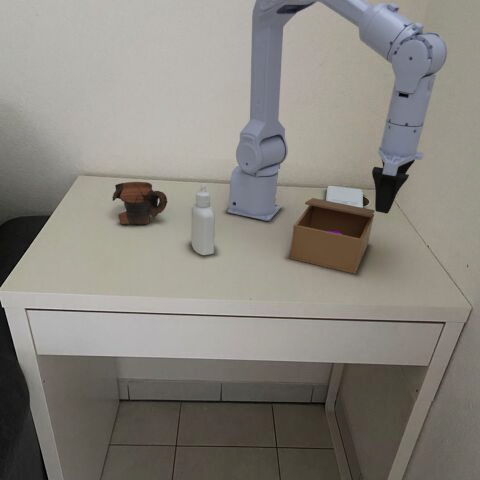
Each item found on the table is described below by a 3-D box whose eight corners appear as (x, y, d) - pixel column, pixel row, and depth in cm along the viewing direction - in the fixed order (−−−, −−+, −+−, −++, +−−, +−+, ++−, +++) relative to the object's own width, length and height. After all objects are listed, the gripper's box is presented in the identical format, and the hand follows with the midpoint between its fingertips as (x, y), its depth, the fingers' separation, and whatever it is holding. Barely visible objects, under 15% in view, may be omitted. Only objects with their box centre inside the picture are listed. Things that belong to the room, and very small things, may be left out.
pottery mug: (105, 226, 97) (101, 183, 96) (130, 229, 106) (126, 190, 105) (159, 220, 93) (156, 176, 92) (181, 224, 102) (178, 183, 101)
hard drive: (361, 196, 117) (362, 216, 107) (326, 191, 118) (324, 211, 108) (362, 189, 116) (363, 209, 106) (327, 185, 117) (325, 204, 107)
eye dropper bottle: (215, 242, 93) (217, 180, 86) (213, 256, 88) (215, 192, 81) (192, 241, 93) (192, 179, 86) (189, 255, 88) (188, 190, 81)
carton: (307, 232, 98) (311, 201, 95) (367, 245, 95) (374, 214, 91) (289, 258, 89) (293, 225, 85) (355, 273, 86) (362, 240, 82)
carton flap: (312, 200, 94) (312, 197, 94) (374, 212, 91) (374, 210, 91) (304, 204, 89) (305, 202, 89) (370, 217, 86) (371, 215, 86)
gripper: (426, 137, 71) (403, 224, 79) (434, 116, 82) (413, 194, 90) (377, 129, 73) (359, 215, 81) (391, 110, 84) (374, 187, 92)
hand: (385, 204), depth 85 cm, fingers open, 7 cm apart
